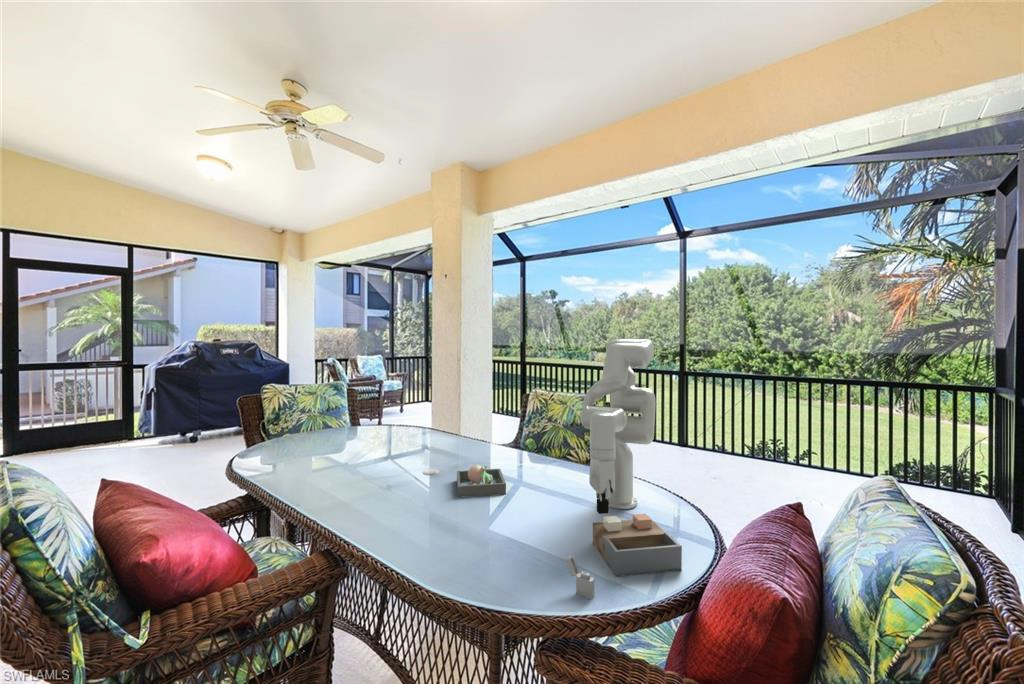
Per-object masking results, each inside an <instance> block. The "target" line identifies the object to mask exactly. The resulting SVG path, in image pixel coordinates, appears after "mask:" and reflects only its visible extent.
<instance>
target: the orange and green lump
mask: <svg viewBox="0 0 1024 684" xmlns="http://www.w3.org/2000/svg"><path fill="white" fill-rule="evenodd" d="M487 467H488V466H487V465H484V466H481V465H480V464H475V465H473V466H470V468H469V469H468V470H469V471H468V478H469V480H470V481H468V483H467V484H466V485H477V484H481V483H482V484H492V482H493V481H494V479H493V477H492V475H489V474H487V473H486V472H485V470H486V469H487Z"/></svg>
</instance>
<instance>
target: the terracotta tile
mask: <svg viewBox="0 0 1024 684" xmlns="http://www.w3.org/2000/svg"><path fill="white" fill-rule="evenodd" d="M632 520H633V524H634V525H635V526H636V527H637V528H638V529H646V528H652V520H653V519H652V518H651V517H650V516H649V515H648V514H647V513H638V514H637V513H635V514H632Z"/></svg>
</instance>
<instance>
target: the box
mask: <svg viewBox="0 0 1024 684" xmlns="http://www.w3.org/2000/svg"><path fill="white" fill-rule="evenodd" d="M682 552H683V547H682V545H681V544H680V543H679V542H678V541H677V540H676V539H675V538H674V537H673V536H672V535H671V534H670V533H669V532H668V531H664V546H658V547H646V548H635V549H623V550H617V549H616V547H615V546H614V545H613V543H612V542H611V541H610V540H609V538H608V537H605V560H604V562H605V563H606V565H607V567H608V568H609V569H610V570H611V572H612V574H613V575H614V577H616V578H618V577H628V576H636V575H648V574H649V575H650V574H658V573H660V574H661V573H668V572H678V571H679V572H680V571H682V568H683V567H682V559H683V557H682V555H683V554H682Z"/></svg>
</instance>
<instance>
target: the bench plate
mask: <svg viewBox="0 0 1024 684" xmlns="http://www.w3.org/2000/svg"><path fill="white" fill-rule="evenodd" d="M621 521H622V530H621V531H609V532H608V531H607V529H606V528H605V527H604V526H603V521H601V522H599V521H598V522H592V544H593V545H594V547H595V549H596V550H597V551H598V553H599V555H600V556H601V557H602V559H603V561H605V537H608V538H609V540H610V541H611V542H612V543H613V545H614V546H615V547H616V549H617V550H623V549H635V548H646V547H658V546H664V532H665V531H664V530H663V529H662V527H660V526H659V525H658V524H657V523H656V522H655V521H654V520H653V519H652V528H646V529H638V528H637V527H636V526H635V525H634V524H633V519H627V520H621Z"/></svg>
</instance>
